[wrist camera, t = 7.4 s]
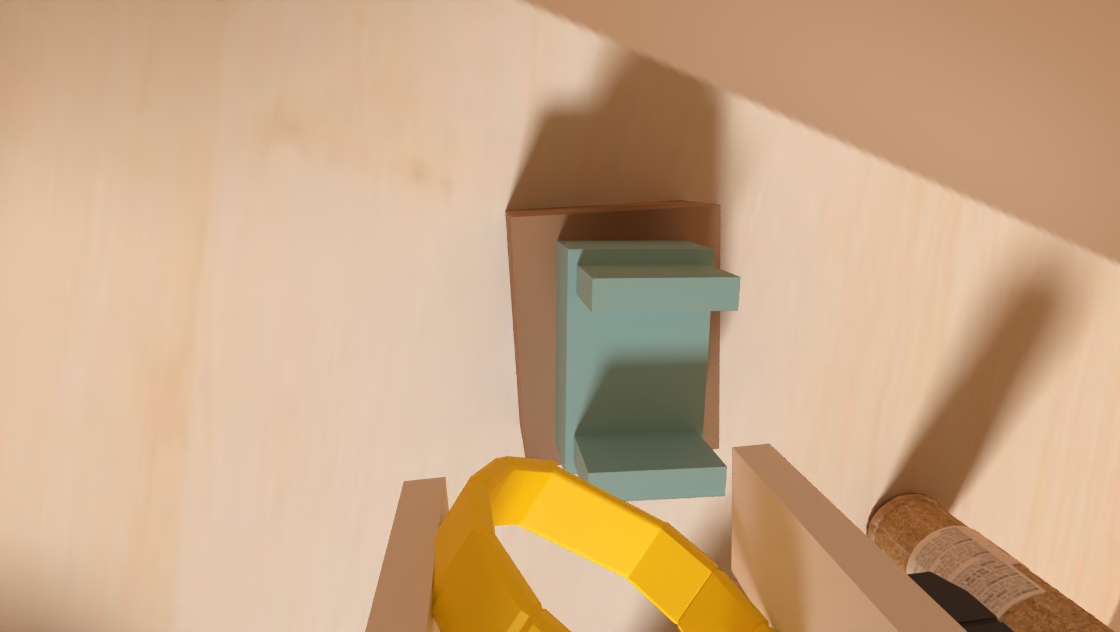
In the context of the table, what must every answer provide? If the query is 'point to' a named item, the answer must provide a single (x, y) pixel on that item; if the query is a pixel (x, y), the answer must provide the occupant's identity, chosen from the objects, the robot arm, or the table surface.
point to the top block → (637, 365)
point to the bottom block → (537, 294)
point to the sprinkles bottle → (973, 566)
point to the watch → (584, 528)
